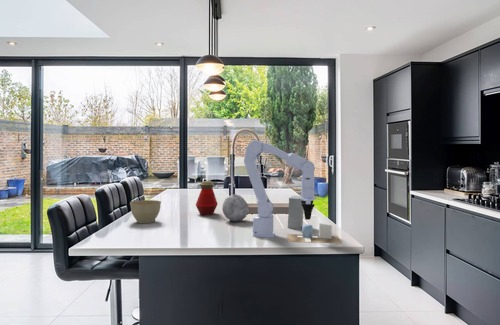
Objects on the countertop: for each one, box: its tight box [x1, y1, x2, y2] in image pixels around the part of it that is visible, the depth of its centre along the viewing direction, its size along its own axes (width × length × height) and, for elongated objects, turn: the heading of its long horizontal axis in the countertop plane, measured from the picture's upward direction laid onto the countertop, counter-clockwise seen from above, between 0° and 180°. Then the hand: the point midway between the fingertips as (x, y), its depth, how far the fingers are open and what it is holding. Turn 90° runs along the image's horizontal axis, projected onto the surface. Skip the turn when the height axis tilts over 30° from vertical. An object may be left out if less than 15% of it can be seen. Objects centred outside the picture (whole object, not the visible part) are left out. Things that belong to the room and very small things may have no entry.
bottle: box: [195, 180, 218, 216], centre depth 219 cm, size 16×14×20 cm
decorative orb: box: [221, 193, 250, 222], centre depth 198 cm, size 15×14×15 cm
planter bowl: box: [129, 199, 162, 224], centre depth 195 cm, size 16×16×11 cm
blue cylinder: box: [301, 224, 313, 238], centre depth 161 cm, size 4×4×5 cm
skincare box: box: [287, 195, 304, 230], centre depth 182 cm, size 8×7×16 cm
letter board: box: [286, 233, 342, 244], centre depth 158 cm, size 23×14×1 cm, turn 83°
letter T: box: [297, 236, 318, 243], centre depth 158 cm, size 9×10×1 cm
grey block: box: [318, 222, 333, 239], centre depth 160 cm, size 5×5×6 cm
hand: (307, 217), depth 161 cm, fingers open, 7 cm apart
